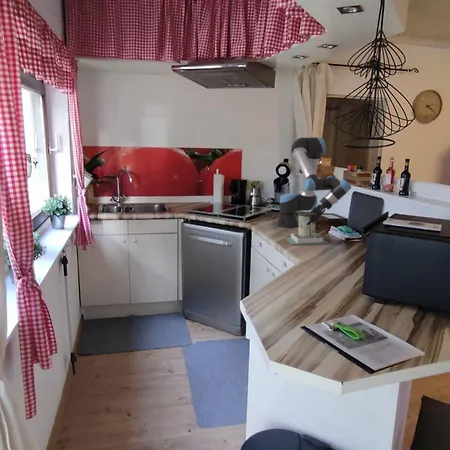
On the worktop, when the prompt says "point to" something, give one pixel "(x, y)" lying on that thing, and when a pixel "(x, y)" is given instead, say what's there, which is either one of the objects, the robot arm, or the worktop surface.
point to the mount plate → (305, 240)
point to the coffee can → (311, 228)
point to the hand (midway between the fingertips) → (301, 226)
